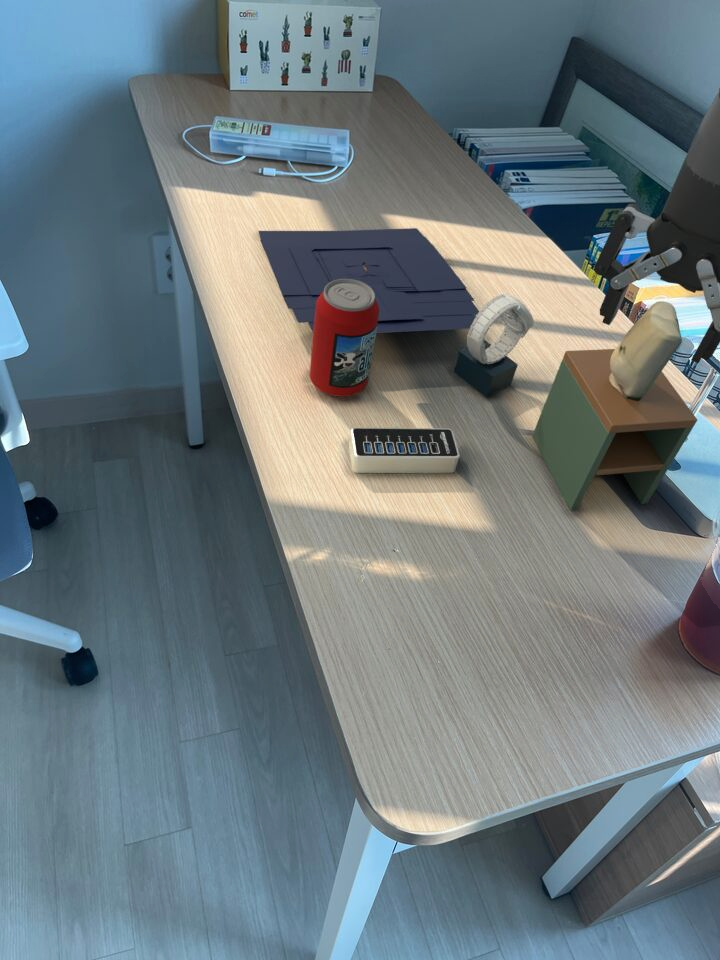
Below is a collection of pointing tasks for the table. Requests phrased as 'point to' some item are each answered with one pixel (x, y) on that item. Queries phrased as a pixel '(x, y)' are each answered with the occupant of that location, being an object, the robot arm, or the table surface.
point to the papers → (371, 275)
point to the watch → (493, 345)
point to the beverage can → (343, 337)
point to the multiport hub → (403, 450)
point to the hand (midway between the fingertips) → (652, 339)
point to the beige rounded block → (645, 351)
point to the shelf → (608, 428)
